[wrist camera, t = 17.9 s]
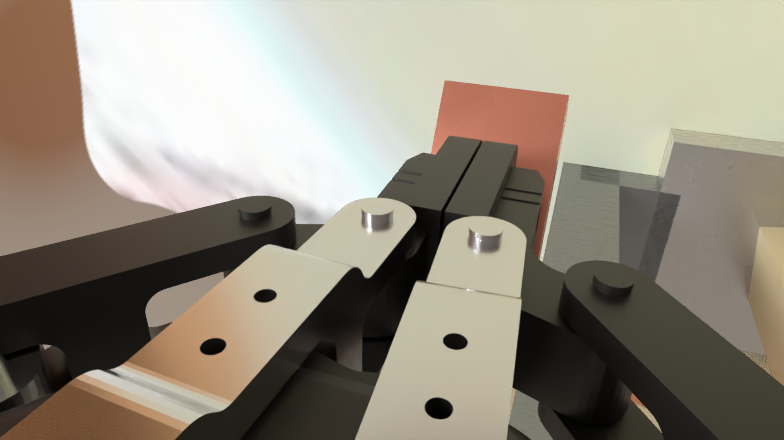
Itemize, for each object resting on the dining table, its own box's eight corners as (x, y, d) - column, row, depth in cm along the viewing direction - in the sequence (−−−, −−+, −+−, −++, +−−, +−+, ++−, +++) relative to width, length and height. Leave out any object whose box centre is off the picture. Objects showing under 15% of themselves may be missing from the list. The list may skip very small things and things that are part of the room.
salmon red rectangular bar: (566, 116, 16) (569, 91, 13) (466, 646, 16) (449, 726, 14) (459, 102, 17) (442, 76, 14) (364, 608, 17) (329, 676, 14)
